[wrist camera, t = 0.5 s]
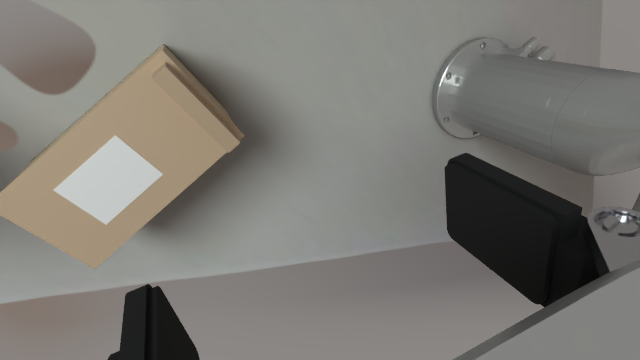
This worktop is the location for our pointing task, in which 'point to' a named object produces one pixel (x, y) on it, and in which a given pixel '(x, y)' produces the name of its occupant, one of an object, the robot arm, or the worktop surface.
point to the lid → (121, 163)
